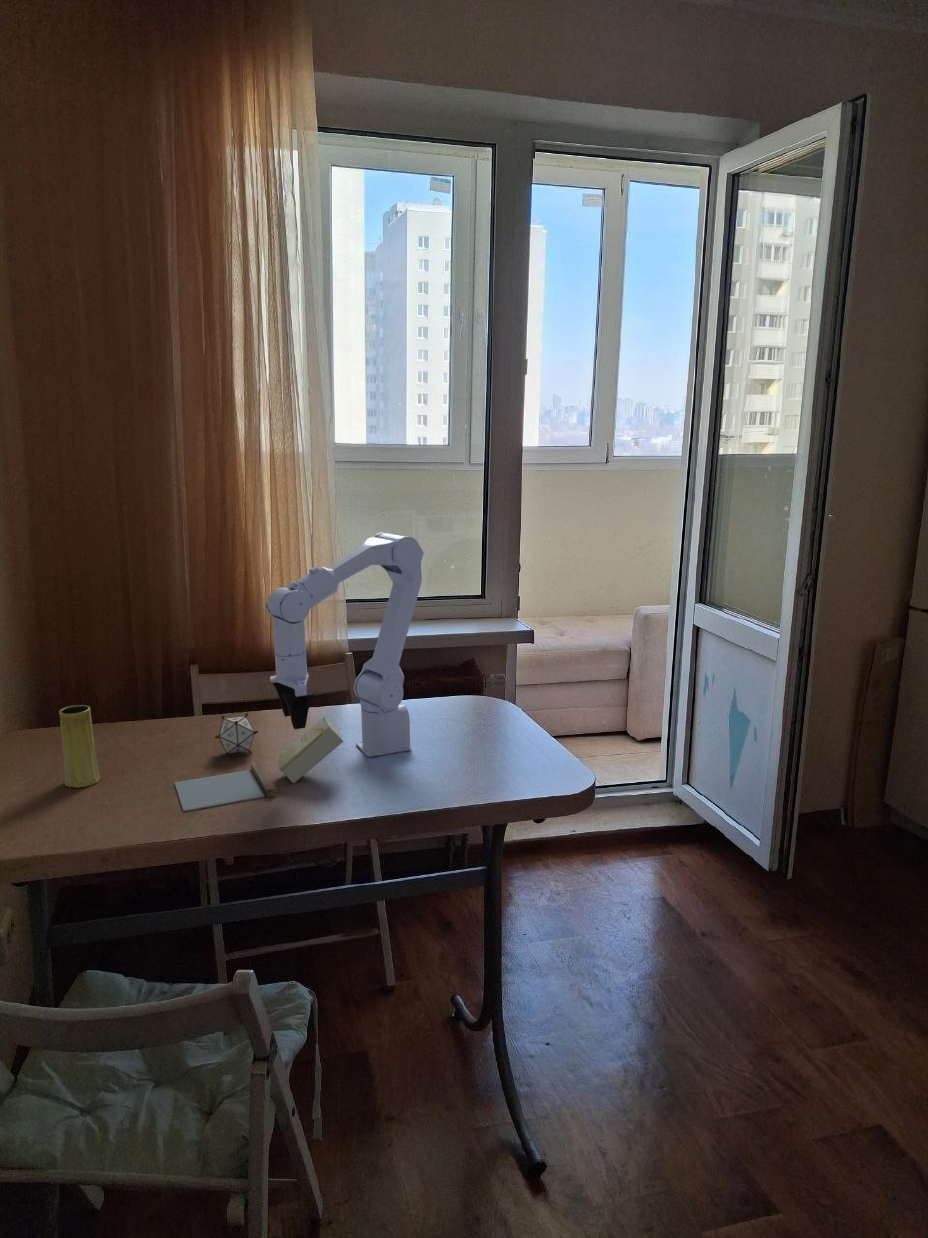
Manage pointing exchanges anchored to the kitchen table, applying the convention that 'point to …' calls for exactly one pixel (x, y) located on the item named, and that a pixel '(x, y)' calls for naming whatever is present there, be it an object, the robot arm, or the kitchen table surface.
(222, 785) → the felt mat
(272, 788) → the walnut rail
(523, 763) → the kitchen table surface
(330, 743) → the skincare box
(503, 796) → the kitchen table surface
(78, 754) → the vase
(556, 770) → the kitchen table surface
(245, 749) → the game die
